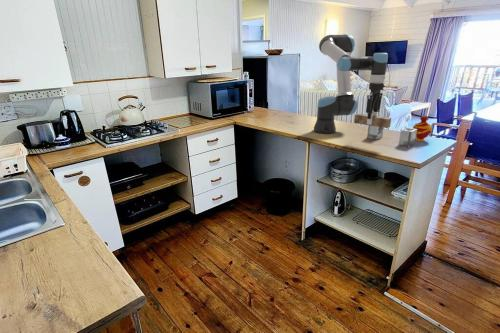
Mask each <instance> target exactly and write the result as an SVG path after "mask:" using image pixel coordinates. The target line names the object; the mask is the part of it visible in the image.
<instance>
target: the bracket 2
mask: <svg viewBox="0 0 500 333" xmlns="http://www.w3.org/2000/svg"><path fill="white" fill-rule="evenodd" d="M417 130H418V129H414V128H413V127H406V128H405V129H400V133H399V140H398V146H403V147H407V148H410V147H411V146H414V145H415V144H416V135H417Z"/></svg>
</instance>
